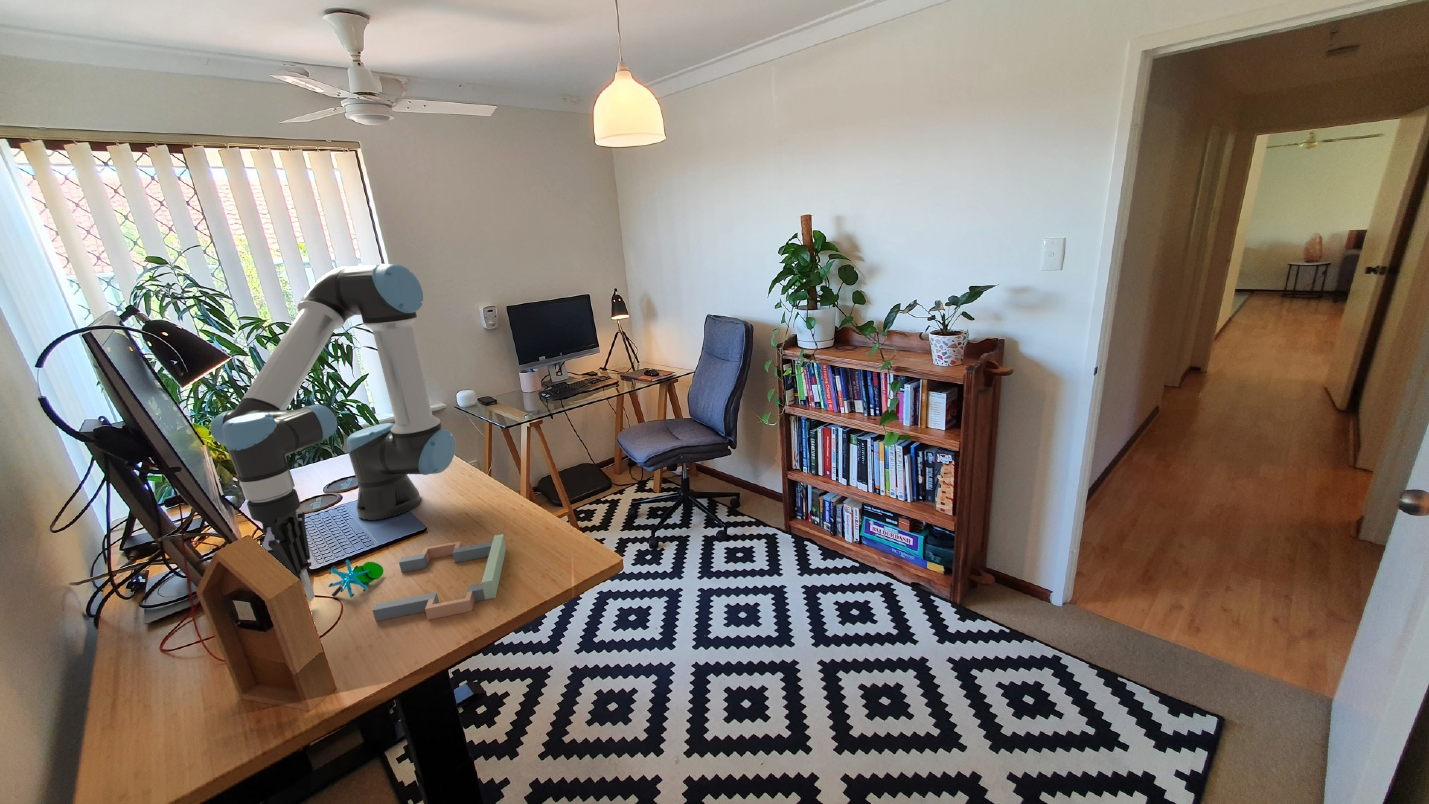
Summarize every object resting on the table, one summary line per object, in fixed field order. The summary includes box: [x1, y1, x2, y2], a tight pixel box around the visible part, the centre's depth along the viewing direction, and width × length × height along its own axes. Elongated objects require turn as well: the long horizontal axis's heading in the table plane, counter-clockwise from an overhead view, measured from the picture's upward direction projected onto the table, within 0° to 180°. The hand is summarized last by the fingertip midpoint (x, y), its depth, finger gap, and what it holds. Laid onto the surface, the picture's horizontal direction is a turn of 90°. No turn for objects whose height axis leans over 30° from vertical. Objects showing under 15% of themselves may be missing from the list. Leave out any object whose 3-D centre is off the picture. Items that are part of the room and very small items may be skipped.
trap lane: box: [372, 533, 507, 622], centre depth 115 cm, size 25×22×4 cm
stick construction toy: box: [328, 559, 384, 598], centre depth 114 cm, size 12×7×8 cm
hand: (305, 599), depth 110 cm, fingers closed
